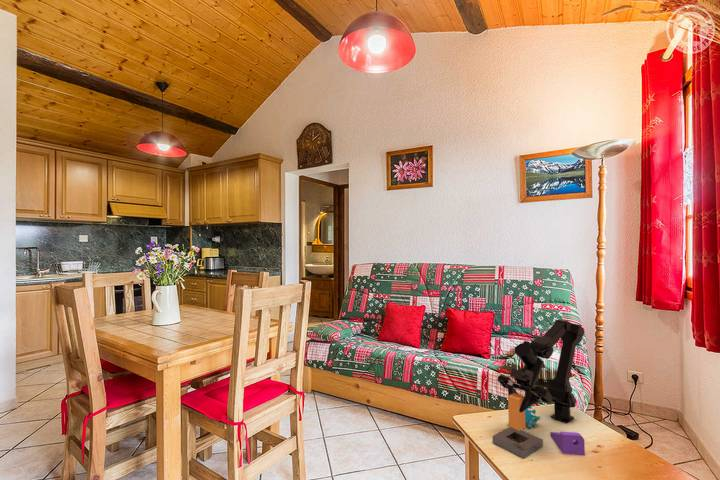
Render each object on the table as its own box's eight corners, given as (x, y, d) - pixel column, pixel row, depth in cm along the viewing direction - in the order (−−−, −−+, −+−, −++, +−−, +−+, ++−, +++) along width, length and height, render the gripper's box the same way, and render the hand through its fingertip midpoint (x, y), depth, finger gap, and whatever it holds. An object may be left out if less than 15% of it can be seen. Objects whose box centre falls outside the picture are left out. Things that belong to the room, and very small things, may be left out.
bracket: (584, 456, 124) (584, 435, 124) (562, 454, 125) (562, 434, 125) (570, 437, 136) (569, 418, 136) (550, 436, 137) (550, 417, 137)
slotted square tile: (511, 432, 139) (511, 425, 139) (542, 446, 129) (542, 439, 129) (492, 442, 132) (492, 436, 132) (523, 458, 123) (523, 451, 123)
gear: (509, 423, 143) (511, 398, 149) (507, 428, 147) (509, 403, 153) (540, 431, 139) (541, 405, 145) (538, 436, 143) (538, 411, 150)
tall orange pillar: (515, 422, 134) (514, 392, 134) (525, 427, 130) (524, 396, 130) (508, 426, 131) (508, 395, 131) (519, 430, 128) (518, 399, 128)
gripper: (499, 353, 141) (481, 389, 134) (547, 366, 125) (530, 407, 119) (511, 369, 145) (495, 404, 139) (559, 383, 130) (543, 424, 124)
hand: (514, 409), depth 130 cm, fingers closed on tall orange pillar, 4 cm apart
